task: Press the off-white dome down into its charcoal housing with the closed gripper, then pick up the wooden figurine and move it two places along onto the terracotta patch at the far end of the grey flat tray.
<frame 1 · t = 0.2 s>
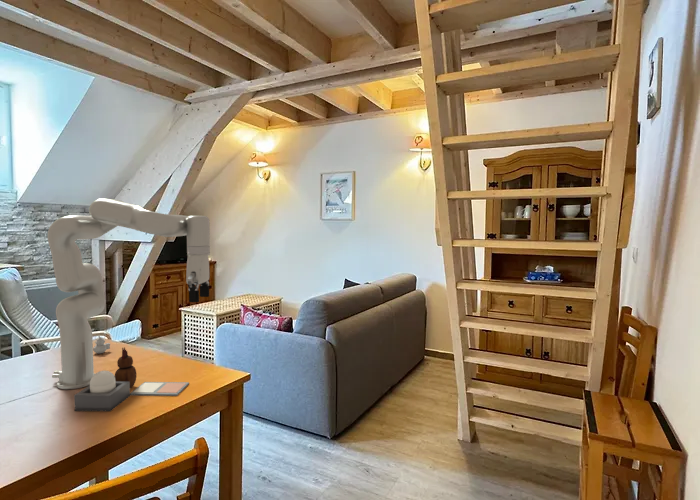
hand: (199, 299, 143), 31 cm above the table, tool pointing down, fingers open, 9 cm apart
rubber duck: (102, 353, 180), on the table
wooden figurine: (126, 388, 142), on the table
dome: (102, 381, 130), point 7 cm above the table, slide at 0.0 cm
grey flat tray: (160, 389, 141), on the table
dome housing: (103, 403, 130), on the table
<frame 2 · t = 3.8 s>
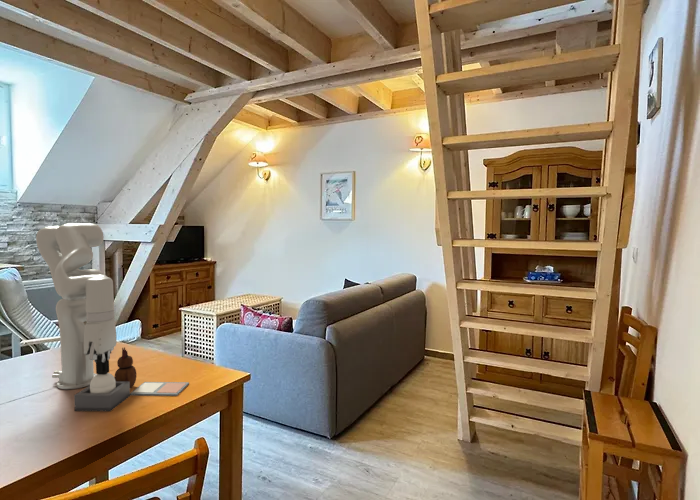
hand: (102, 373, 129), 10 cm above the table, tool pointing down, fingers closed
dome: (102, 383, 130), point 6 cm above the table, slide at -0.6 cm, touching gripper
everything else where it was.
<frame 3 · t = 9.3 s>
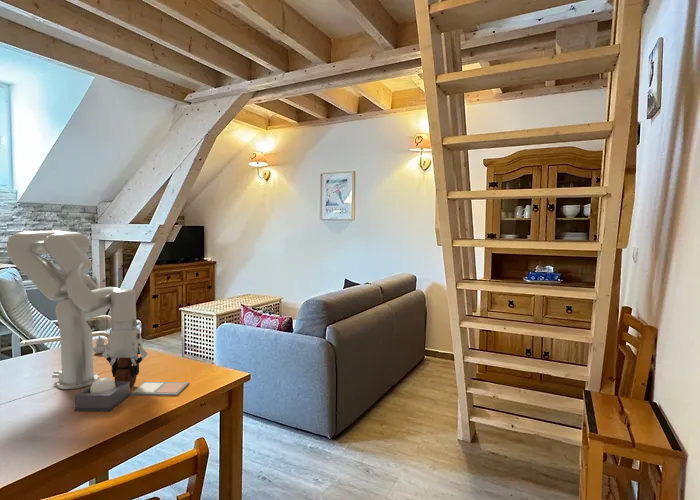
hand: (125, 375, 142), 5 cm above the table, tool pointing down, fingers closed on wooden figurine, 6 cm apart
wooden figurine: (126, 388, 142), on the table, touching gripper
dome: (103, 388, 130), point 5 cm above the table, slide at -2.3 cm
everything else where it was.
when the fingers open (7 cm above the table, at t = 16.1 s): wooden figurine drops 1 cm, resting on grey flat tray.
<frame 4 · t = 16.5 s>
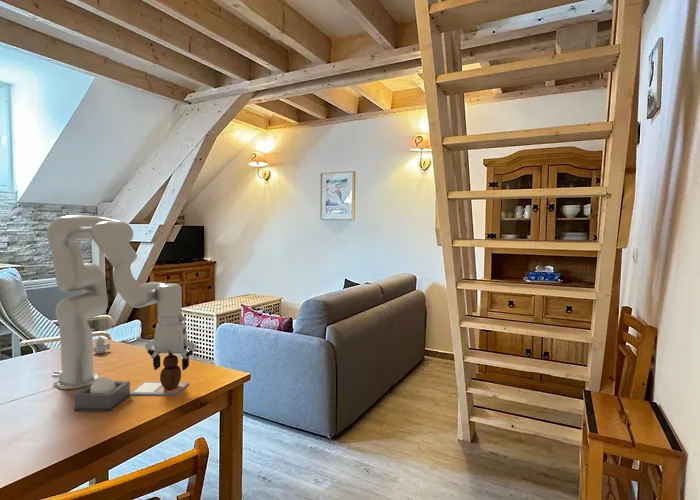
hand: (171, 368, 141), 7 cm above the table, tool pointing down, fingers open, 9 cm apart
wooden figurine: (170, 388, 141), point 1 cm above the table, touching grey flat tray
everything else where it was.
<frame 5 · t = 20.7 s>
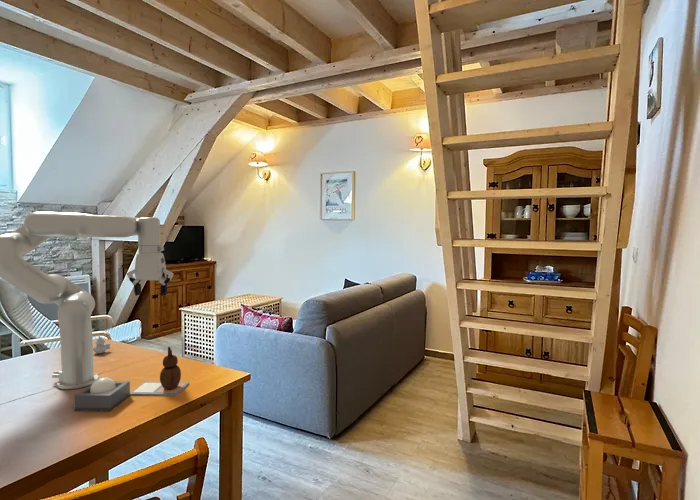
hand: (150, 295, 154), 30 cm above the table, tool pointing down, fingers open, 9 cm apart
nothing on the table moved.
at the end: dome slide at -2.3 cm; wooden figurine 0.3 cm from the target spot, point 0.5 cm above the table; wooden figurine tilted 0° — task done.
